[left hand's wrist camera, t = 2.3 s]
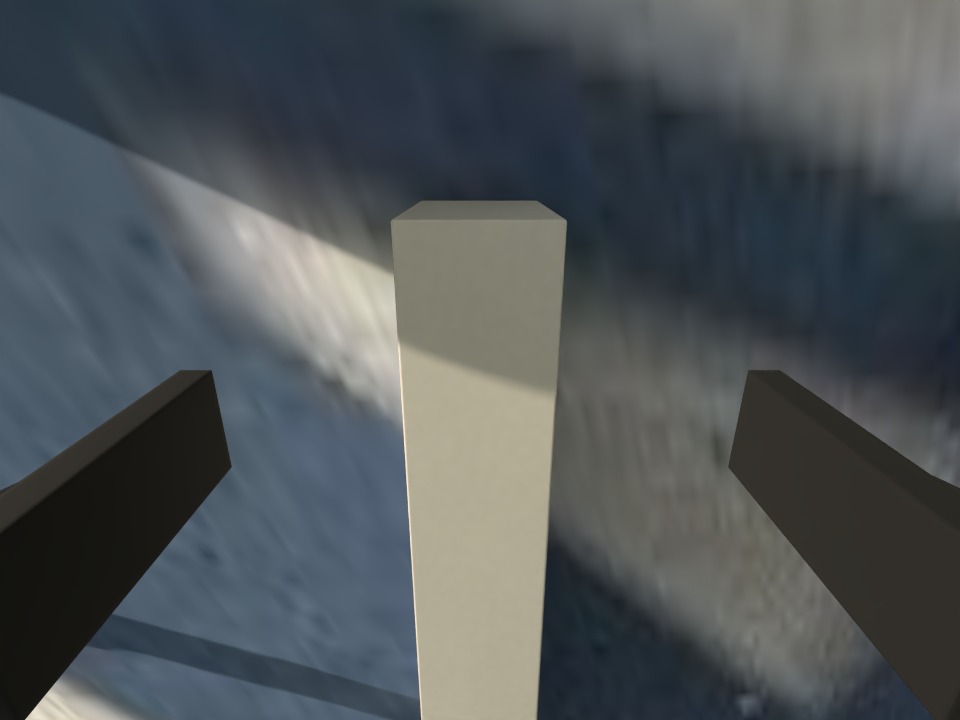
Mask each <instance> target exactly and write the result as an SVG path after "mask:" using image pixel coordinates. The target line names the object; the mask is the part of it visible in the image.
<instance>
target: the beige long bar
mask: <svg viewBox="0 0 960 720" xmlns="http://www.w3.org/2000/svg"><path fill="white" fill-rule="evenodd" d="M566 229H567V221H566V220H565V219H564V218H562V217H561V216H559V215H558V214H556V213H555V212H553V211H552V210H550V209H549V208H547V207H546V206H544V205H543V204H541V203H540V202H538V201H420V202H419V203H417V204H416V205H414V206H413V207H411V208H410V209H408V210H406V211H405V212H403V213H402V214H400V215H399V216H397V217H396V218H394V219H392V220H391V234H392V251H393V267H394V283H395V299H396V315H397V332H398V348H399V364H400V380H401V396H402V412H403V429H404V445H405V461H406V477H407V493H408V510H409V526H410V542H411V558H412V574H413V590H414V607H415V623H416V639H417V655H418V671H419V688H420V704H421V720H537V711H538V695H539V678H540V661H541V645H542V628H543V611H544V595H545V578H546V562H547V545H548V528H549V512H550V495H551V479H552V462H553V445H554V429H555V412H556V396H557V379H558V362H559V346H560V329H561V312H562V296H563V279H564V263H565V246H566Z"/></svg>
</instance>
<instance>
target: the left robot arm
mask: <svg viewBox="0 0 960 720" xmlns="http://www.w3.org/2000/svg"><path fill="white" fill-rule="evenodd" d="M231 467H232V466H231V461H230V457H229V452H228V447H227V442H226V437H225V432H224V428H223V423H222V418H221V413H220V408H219V403H218V399H217V394H216V389H215V384H214V379H213V374H212V370H180V371H179V372H177V373H176V374H174V375H173V376H172V377H170V378H169V379H167V380H166V381H164V382H163V383H161V384H160V385H159V386H157V387H156V388H154V389H153V390H151V391H150V392H148V393H147V394H145V395H144V396H143V397H141V398H140V399H138V400H137V401H135V402H134V403H132V404H131V405H130V406H128V407H127V408H125V409H124V410H122V411H121V412H119V413H118V414H117V415H115V416H114V417H112V418H111V419H109V420H108V421H106V422H105V423H104V424H102V425H101V426H99V427H98V428H96V429H95V430H93V431H92V432H91V433H89V434H88V435H86V436H85V437H83V438H82V439H80V440H79V441H78V442H76V443H75V444H73V445H72V446H70V447H69V448H67V449H66V450H65V451H63V452H62V453H60V454H59V455H57V456H56V457H54V458H53V459H52V460H50V461H49V462H47V463H46V464H44V465H43V466H41V467H40V468H39V469H37V470H36V471H34V472H33V473H31V474H30V475H28V476H27V477H26V478H24V479H23V480H21V481H20V482H18V483H16V484H13V485H11V486H9V487H7V488H5V489H3V490H1V491H0V720H25V719H26V718H27V717H28V715H29V714H30V713H31V712H32V711H33V709H34V708H35V707H36V706H37V704H38V703H39V702H40V701H41V700H42V698H43V697H44V696H45V695H46V693H47V692H48V691H49V690H50V689H51V687H52V686H53V685H54V684H55V682H56V681H57V680H58V679H59V677H60V676H61V675H62V674H63V673H64V671H65V670H66V669H67V668H68V666H69V665H70V664H71V663H72V662H73V660H74V659H75V658H76V657H77V655H78V654H79V653H80V652H81V651H82V649H83V648H84V647H85V646H86V644H87V643H88V642H89V641H90V640H91V638H92V637H93V636H94V635H95V633H96V632H97V631H98V630H99V629H100V627H101V626H102V625H103V624H104V622H105V621H106V620H107V619H108V618H109V616H110V615H111V614H112V613H113V611H114V610H115V609H116V608H117V607H118V605H119V604H120V603H121V602H122V600H123V599H124V598H125V597H126V596H127V594H128V593H129V592H130V591H131V589H132V588H133V587H134V586H135V585H136V583H137V582H138V581H139V580H140V578H141V577H142V576H143V575H144V573H145V572H146V571H147V570H148V569H149V567H150V566H151V565H152V564H153V562H154V561H155V560H156V559H157V558H158V556H159V555H160V554H161V553H162V551H163V550H164V549H165V548H166V547H167V545H168V544H169V543H170V542H171V540H172V539H173V538H174V537H175V536H176V534H177V533H178V532H179V531H180V529H181V528H182V527H183V526H184V525H185V523H186V522H187V521H188V520H189V518H190V517H191V516H192V515H193V514H194V512H195V511H196V510H197V509H198V507H199V506H200V505H201V504H202V503H203V501H204V500H205V499H206V498H207V496H208V495H209V494H210V493H211V492H212V490H213V489H214V488H215V487H216V485H217V484H218V483H219V482H220V481H221V479H222V478H223V477H224V476H225V474H226V473H227V472H228V471H229V469H230V468H231ZM728 467H729V468H730V469H731V471H732V472H733V473H734V474H735V476H736V477H737V478H738V479H739V481H740V482H741V483H742V484H743V485H744V487H745V488H746V489H747V490H748V492H749V493H750V494H751V495H752V496H753V498H754V499H755V500H756V501H757V503H758V504H759V505H760V506H761V507H762V509H763V510H764V511H765V512H766V514H767V515H768V516H769V517H770V518H771V520H772V521H773V522H774V523H775V525H776V526H777V527H778V528H779V529H780V531H781V532H782V533H783V534H784V536H785V537H786V538H787V539H788V540H789V542H790V543H791V544H792V545H793V547H794V548H795V549H796V550H797V551H798V553H799V554H800V555H801V556H802V558H803V559H804V560H805V561H806V562H807V564H808V565H809V566H810V567H811V569H812V570H813V571H814V572H815V573H816V575H817V576H818V577H819V578H820V580H821V581H822V582H823V583H824V585H825V586H826V587H827V588H828V589H829V591H830V592H831V593H832V594H833V596H834V597H835V598H836V599H837V600H838V602H839V603H840V604H841V605H842V607H843V608H844V609H845V610H846V611H847V613H848V614H849V615H850V616H851V618H852V619H853V620H854V621H855V622H856V624H857V625H858V626H859V627H860V629H861V630H862V631H863V632H864V633H865V635H866V636H867V637H868V638H869V640H870V641H871V642H872V643H873V644H874V646H875V647H876V648H877V649H878V651H879V652H880V653H881V654H882V655H883V657H884V658H885V659H886V660H887V662H888V663H889V664H890V665H891V666H892V668H893V669H894V670H895V671H896V673H897V674H898V675H899V676H900V677H901V679H902V680H903V681H904V682H905V684H906V685H907V686H908V687H909V689H910V690H911V691H912V692H913V693H914V695H915V696H916V697H917V698H918V700H919V701H920V702H921V703H922V704H923V706H924V707H925V708H926V709H927V711H928V712H929V713H930V714H931V715H932V717H933V718H934V719H935V720H960V488H958V487H956V486H954V485H951V484H949V483H947V482H945V481H943V480H941V479H939V478H936V477H934V476H932V475H930V474H929V473H927V472H926V471H924V470H923V469H921V468H920V467H919V466H917V465H916V464H914V463H913V462H911V461H910V460H908V459H907V458H906V457H904V456H903V455H901V454H900V453H898V452H897V451H895V450H894V449H893V448H891V447H890V446H888V445H887V444H885V443H884V442H882V441H881V440H880V439H878V438H877V437H875V436H874V435H872V434H871V433H869V432H868V431H867V430H865V429H864V428H862V427H861V426H859V425H858V424H856V423H855V422H854V421H852V420H851V419H849V418H848V417H846V416H845V415H843V414H842V413H841V412H839V411H838V410H836V409H835V408H833V407H832V406H830V405H829V404H828V403H826V402H825V401H823V400H822V399H820V398H819V397H817V396H816V395H814V394H813V393H812V392H810V391H809V390H807V389H806V388H804V387H803V386H801V385H800V384H799V383H797V382H796V381H794V380H793V379H791V378H790V377H788V376H787V375H786V374H784V373H783V372H781V371H780V370H748V374H747V379H746V384H745V389H744V394H743V399H742V403H741V408H740V413H739V418H738V423H737V428H736V432H735V437H734V442H733V447H732V452H731V457H730V461H729V466H728Z"/></svg>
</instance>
